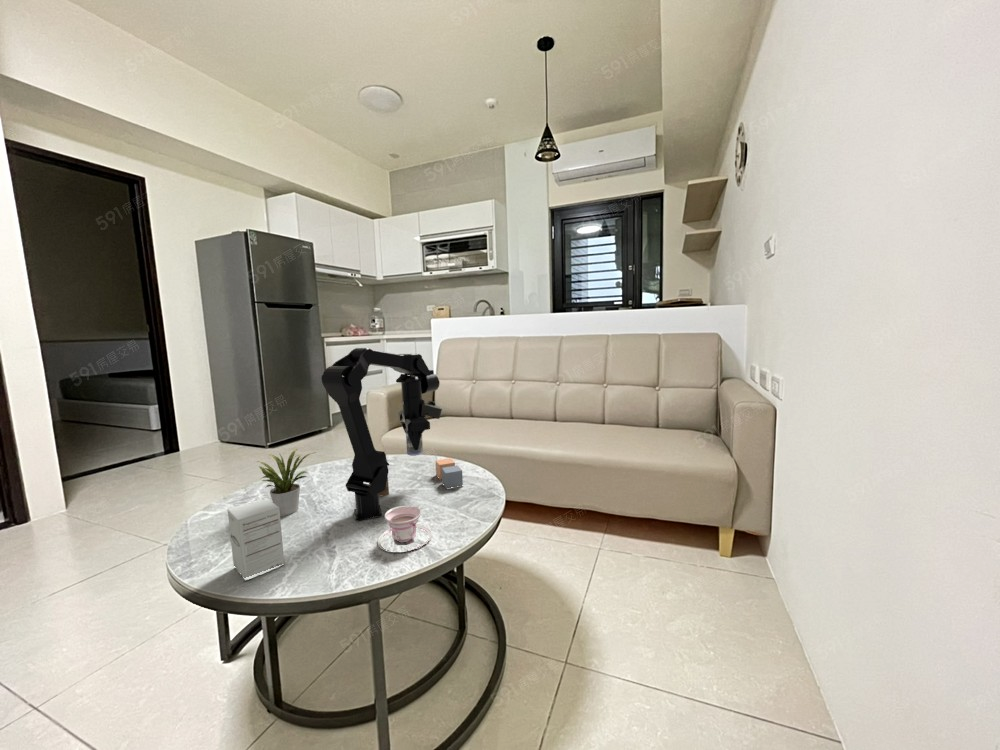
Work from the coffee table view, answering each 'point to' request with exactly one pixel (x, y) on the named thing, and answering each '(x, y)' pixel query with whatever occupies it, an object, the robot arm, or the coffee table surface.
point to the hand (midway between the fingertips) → (414, 447)
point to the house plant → (284, 484)
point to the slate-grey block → (452, 476)
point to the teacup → (403, 524)
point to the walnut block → (384, 490)
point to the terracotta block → (443, 465)
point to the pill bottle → (411, 450)
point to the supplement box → (256, 537)
